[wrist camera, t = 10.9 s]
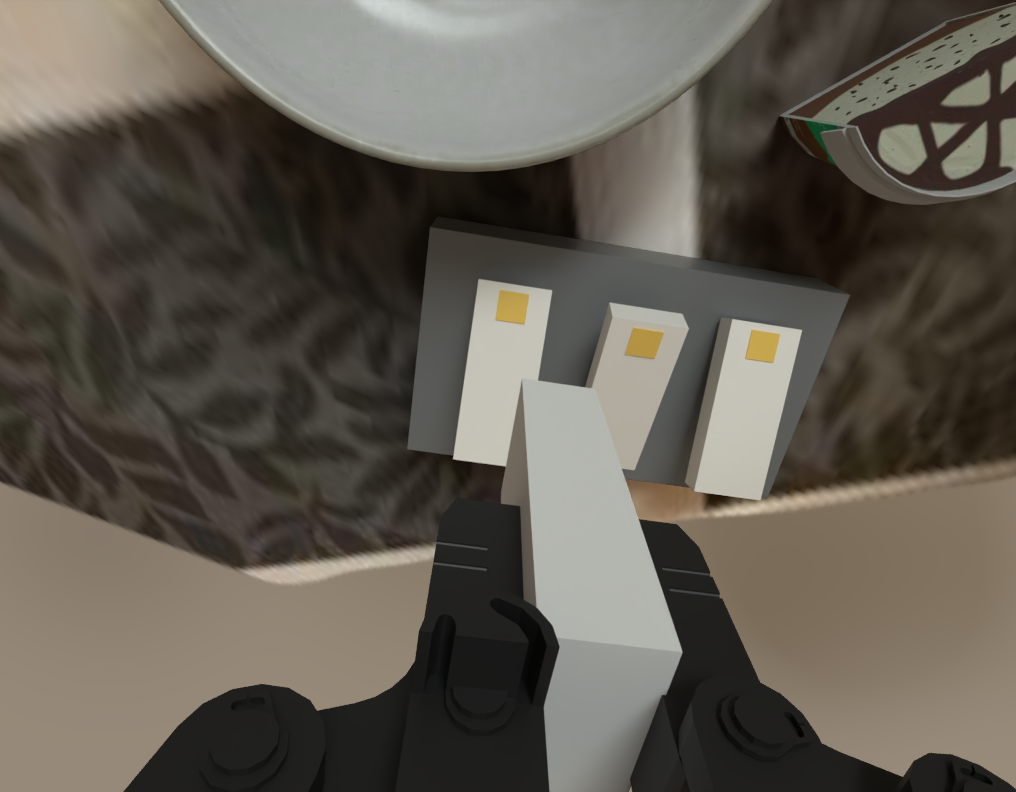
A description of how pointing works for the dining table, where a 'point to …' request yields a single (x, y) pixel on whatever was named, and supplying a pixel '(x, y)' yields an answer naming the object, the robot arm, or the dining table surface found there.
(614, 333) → the rocker
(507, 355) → the block
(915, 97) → the food container
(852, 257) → the dining table surface
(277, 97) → the decorative bowl
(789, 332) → the block
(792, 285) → the switch unit
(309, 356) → the dining table surface
